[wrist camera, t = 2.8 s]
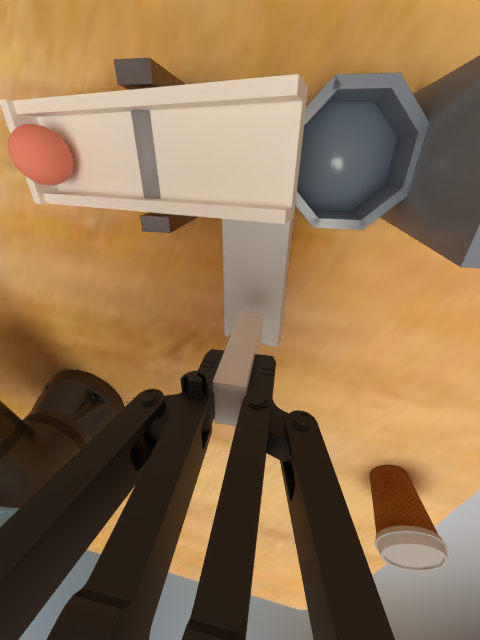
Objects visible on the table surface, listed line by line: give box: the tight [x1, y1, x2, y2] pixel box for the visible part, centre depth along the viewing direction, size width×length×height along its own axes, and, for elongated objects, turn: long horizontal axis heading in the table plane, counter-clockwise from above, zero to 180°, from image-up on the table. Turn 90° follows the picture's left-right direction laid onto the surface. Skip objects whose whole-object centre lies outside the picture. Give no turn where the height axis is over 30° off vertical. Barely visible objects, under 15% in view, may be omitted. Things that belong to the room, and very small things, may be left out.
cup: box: [295, 56, 480, 268], centre depth 19 cm, size 12×11×16 cm
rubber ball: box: [8, 124, 73, 185], centre depth 20 cm, size 4×4×4 cm
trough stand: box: [114, 58, 198, 233], centre depth 24 cm, size 6×11×11 cm, turn 179°
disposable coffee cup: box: [370, 465, 448, 571], centre depth 43 cm, size 10×10×12 cm
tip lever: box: [0, 74, 308, 348], centre depth 22 cm, size 22×18×4 cm
